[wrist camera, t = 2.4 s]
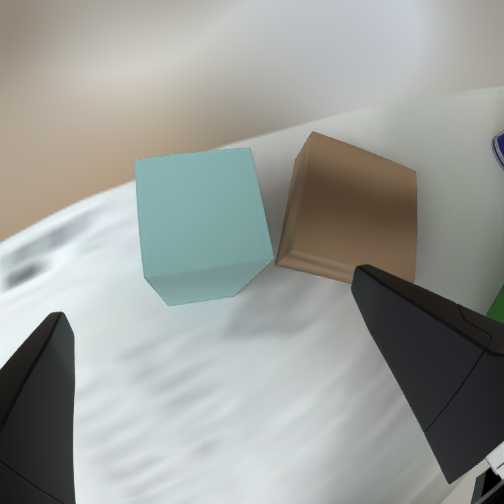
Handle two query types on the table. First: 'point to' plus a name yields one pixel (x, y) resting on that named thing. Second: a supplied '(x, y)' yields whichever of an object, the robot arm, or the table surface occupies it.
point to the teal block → (201, 224)
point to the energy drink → (499, 148)
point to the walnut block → (348, 212)
